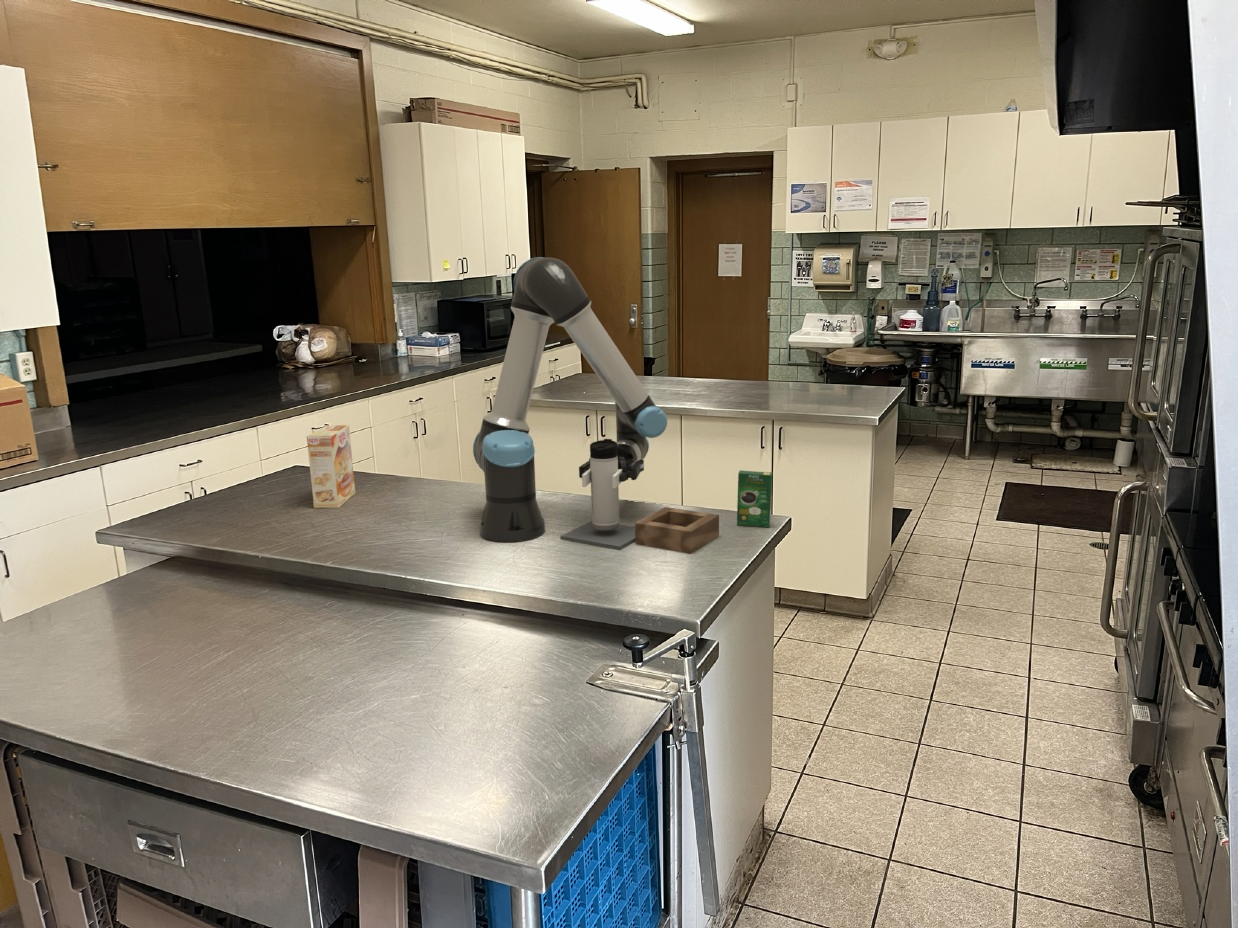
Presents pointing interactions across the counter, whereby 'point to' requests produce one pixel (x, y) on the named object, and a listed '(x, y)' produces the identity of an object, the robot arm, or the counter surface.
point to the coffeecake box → (331, 466)
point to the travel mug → (604, 485)
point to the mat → (602, 536)
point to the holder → (677, 530)
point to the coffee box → (754, 498)
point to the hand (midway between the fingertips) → (598, 481)
